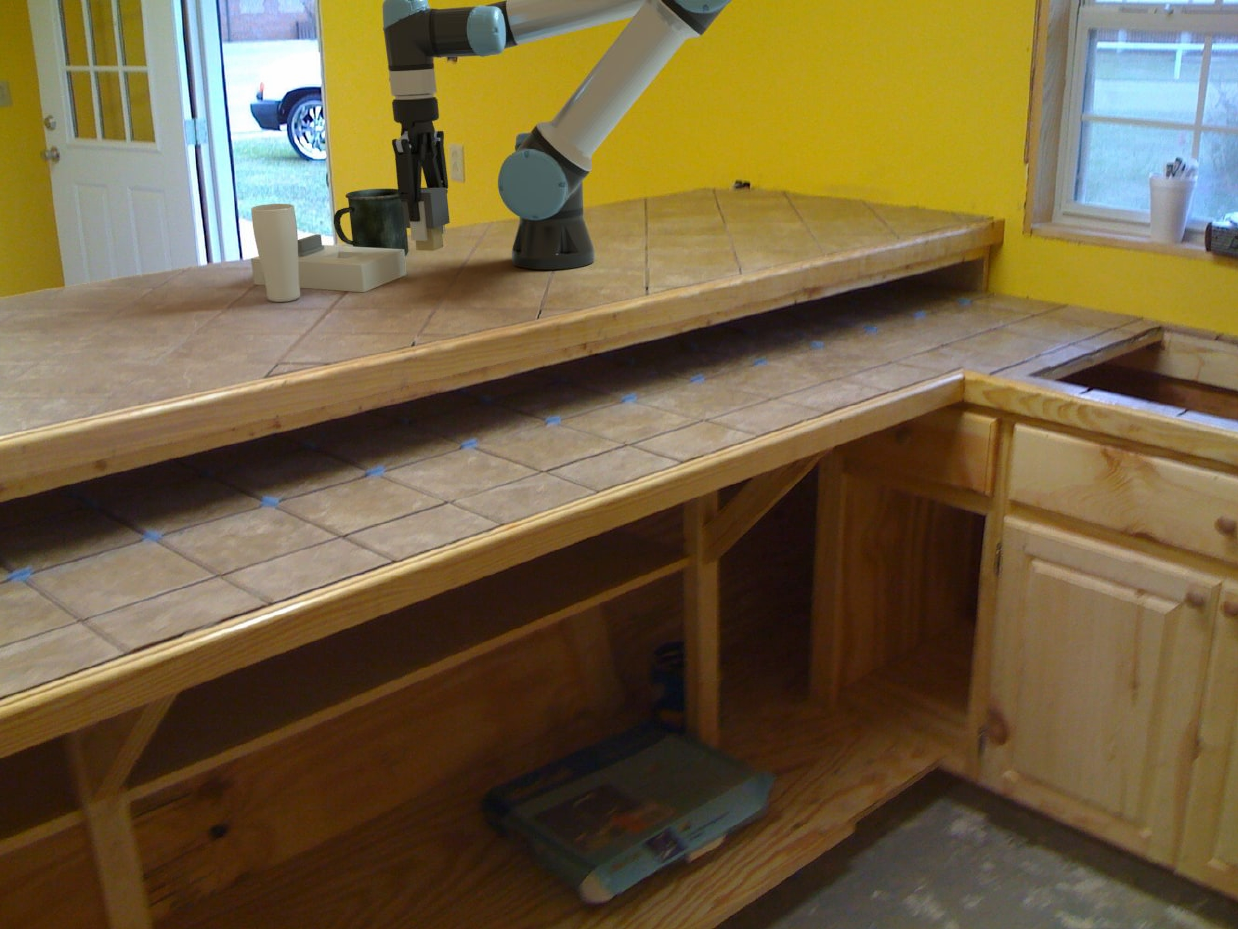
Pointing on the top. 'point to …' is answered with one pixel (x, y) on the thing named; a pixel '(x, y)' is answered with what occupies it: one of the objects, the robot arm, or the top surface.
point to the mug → (374, 220)
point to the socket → (345, 268)
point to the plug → (431, 217)
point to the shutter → (309, 245)
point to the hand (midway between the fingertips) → (428, 236)
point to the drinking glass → (277, 250)
